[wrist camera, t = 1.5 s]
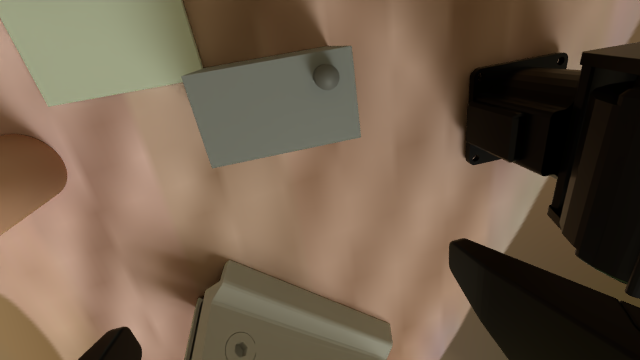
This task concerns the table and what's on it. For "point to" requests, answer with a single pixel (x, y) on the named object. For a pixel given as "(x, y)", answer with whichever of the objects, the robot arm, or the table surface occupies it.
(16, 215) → the terracotta cylinder
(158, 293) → the table surface
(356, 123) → the unit
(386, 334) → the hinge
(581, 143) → the robot arm
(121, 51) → the pad
